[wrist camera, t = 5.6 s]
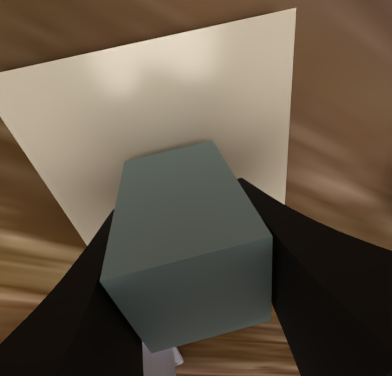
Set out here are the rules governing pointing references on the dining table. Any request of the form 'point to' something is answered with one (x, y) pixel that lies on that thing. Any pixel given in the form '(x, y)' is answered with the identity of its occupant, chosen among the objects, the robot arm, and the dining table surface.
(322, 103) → the dining table surface
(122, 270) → the block
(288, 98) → the base tile
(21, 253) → the dining table surface
